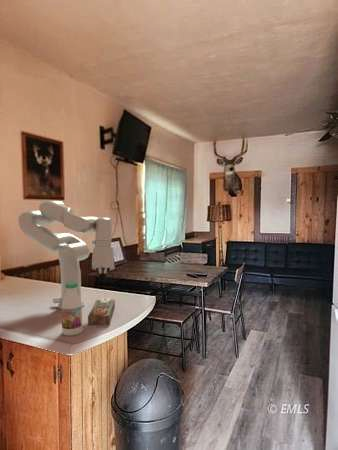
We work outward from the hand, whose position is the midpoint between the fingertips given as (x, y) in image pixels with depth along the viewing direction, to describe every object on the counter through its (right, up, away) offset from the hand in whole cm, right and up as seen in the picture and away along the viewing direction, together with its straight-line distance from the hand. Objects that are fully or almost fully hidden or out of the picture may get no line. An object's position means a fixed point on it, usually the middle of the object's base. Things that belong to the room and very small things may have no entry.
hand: (102, 281), depth 151 cm
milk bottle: (-7, -16, -26) cm, 31 cm away
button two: (+1, -13, -7) cm, 15 cm away
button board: (+1, -15, -7) cm, 16 cm away
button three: (+2, -15, -14) cm, 21 cm away
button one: (+1, -14, +1) cm, 14 cm away
